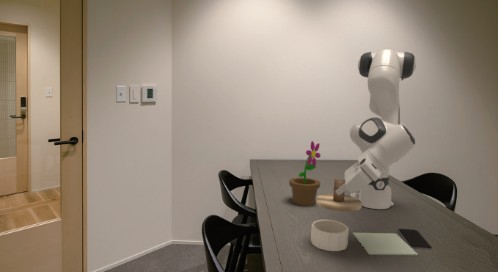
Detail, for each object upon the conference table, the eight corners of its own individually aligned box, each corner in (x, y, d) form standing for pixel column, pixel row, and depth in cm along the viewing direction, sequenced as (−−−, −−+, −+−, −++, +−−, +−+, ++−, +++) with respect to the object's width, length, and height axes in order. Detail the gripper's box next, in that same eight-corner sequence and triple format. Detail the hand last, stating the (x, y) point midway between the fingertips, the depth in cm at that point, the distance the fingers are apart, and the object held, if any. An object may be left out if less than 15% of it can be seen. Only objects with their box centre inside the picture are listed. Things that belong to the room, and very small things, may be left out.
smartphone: (411, 247, 114) (397, 228, 129) (410, 250, 114) (396, 231, 129) (433, 249, 113) (416, 229, 128) (433, 252, 113) (416, 232, 128)
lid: (311, 196, 121) (312, 174, 120) (352, 197, 122) (354, 175, 121) (321, 211, 106) (323, 185, 105) (368, 211, 107) (370, 186, 106)
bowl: (308, 235, 122) (309, 219, 121) (341, 235, 122) (342, 220, 121) (315, 250, 110) (316, 233, 109) (351, 251, 110) (352, 234, 110)
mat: (352, 233, 124) (352, 232, 124) (395, 234, 125) (395, 233, 125) (369, 254, 108) (369, 253, 108) (417, 255, 109) (417, 254, 109)
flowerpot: (308, 209, 149) (311, 143, 145) (282, 202, 158) (285, 139, 154) (324, 202, 159) (328, 140, 155) (299, 195, 169) (302, 136, 165)
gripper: (361, 152, 120) (331, 176, 124) (365, 163, 101) (329, 191, 104) (373, 166, 120) (343, 189, 123) (379, 179, 100) (343, 207, 104)
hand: (337, 190), depth 114 cm, fingers closed on lid, 4 cm apart
